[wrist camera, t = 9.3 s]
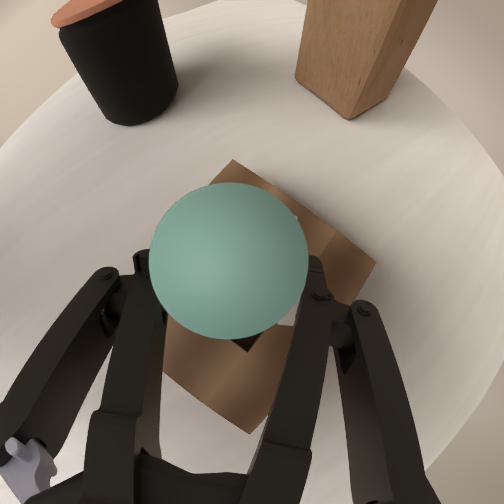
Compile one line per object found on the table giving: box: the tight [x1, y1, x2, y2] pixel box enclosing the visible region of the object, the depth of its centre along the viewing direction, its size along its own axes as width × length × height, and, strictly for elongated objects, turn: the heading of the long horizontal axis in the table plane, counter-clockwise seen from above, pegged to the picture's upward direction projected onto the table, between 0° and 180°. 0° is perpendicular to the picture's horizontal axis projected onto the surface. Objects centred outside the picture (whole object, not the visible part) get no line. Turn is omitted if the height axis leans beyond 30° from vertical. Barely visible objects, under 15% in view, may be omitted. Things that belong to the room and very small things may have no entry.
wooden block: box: [295, 0, 437, 120], centre depth 21 cm, size 10×10×20 cm
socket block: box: [163, 159, 376, 434], centre depth 22 cm, size 14×16×6 cm
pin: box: [149, 182, 308, 339], centre depth 14 cm, size 4×4×14 cm
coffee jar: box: [51, 0, 178, 126], centre depth 21 cm, size 11×11×18 cm
